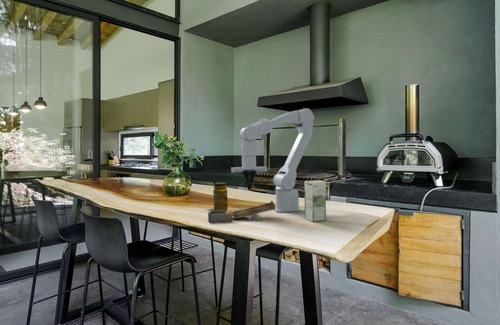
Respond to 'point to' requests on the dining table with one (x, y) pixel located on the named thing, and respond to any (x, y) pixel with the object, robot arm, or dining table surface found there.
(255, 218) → the fulcrum
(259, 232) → the dining table surface
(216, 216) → the tray
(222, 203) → the condiment
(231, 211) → the ball
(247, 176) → the robot arm
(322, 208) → the syrup box
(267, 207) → the lever
